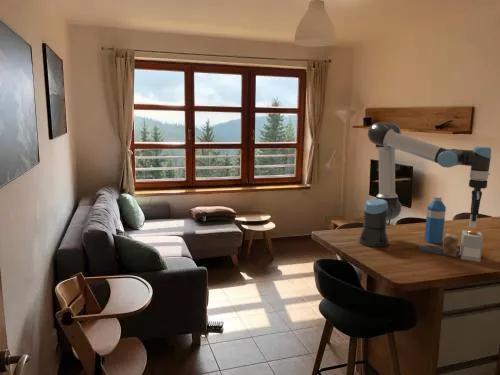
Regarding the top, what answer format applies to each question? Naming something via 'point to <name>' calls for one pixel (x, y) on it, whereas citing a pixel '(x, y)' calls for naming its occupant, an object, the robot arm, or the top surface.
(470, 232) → the plunger
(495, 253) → the top surface
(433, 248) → the rail
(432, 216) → the water bottle
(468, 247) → the white box
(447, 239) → the block
